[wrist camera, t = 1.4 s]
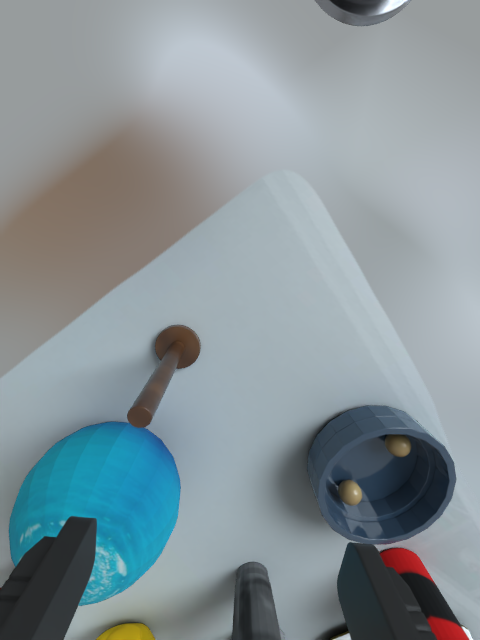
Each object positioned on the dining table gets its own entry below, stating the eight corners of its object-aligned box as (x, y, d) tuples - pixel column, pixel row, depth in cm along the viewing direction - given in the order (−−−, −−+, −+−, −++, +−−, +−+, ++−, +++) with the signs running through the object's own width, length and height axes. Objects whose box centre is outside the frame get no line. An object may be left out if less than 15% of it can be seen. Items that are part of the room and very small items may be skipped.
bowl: (363, 379, 35) (385, 401, 30) (450, 446, 38) (484, 476, 33) (281, 468, 38) (289, 502, 33) (368, 525, 40) (388, 564, 35)
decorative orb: (214, 457, 37) (203, 592, 22) (126, 519, 39) (63, 681, 24) (133, 372, 34) (59, 463, 19) (42, 443, 36) (-89, 576, 21)
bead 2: (391, 423, 36) (404, 437, 33) (407, 434, 36) (421, 449, 34) (375, 439, 36) (387, 454, 34) (391, 450, 37) (404, 466, 34)
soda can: (409, 589, 43) (475, 714, 31) (361, 583, 43) (411, 708, 31) (427, 549, 41) (504, 666, 30) (377, 542, 41) (435, 659, 29)
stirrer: (173, 316, 32) (127, 367, 18) (209, 341, 33) (192, 410, 19) (148, 349, 33) (85, 424, 19) (184, 374, 34) (150, 463, 20)
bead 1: (344, 470, 37) (353, 488, 35) (360, 481, 38) (370, 499, 35) (330, 485, 38) (338, 504, 35) (346, 496, 38) (355, 515, 35)
